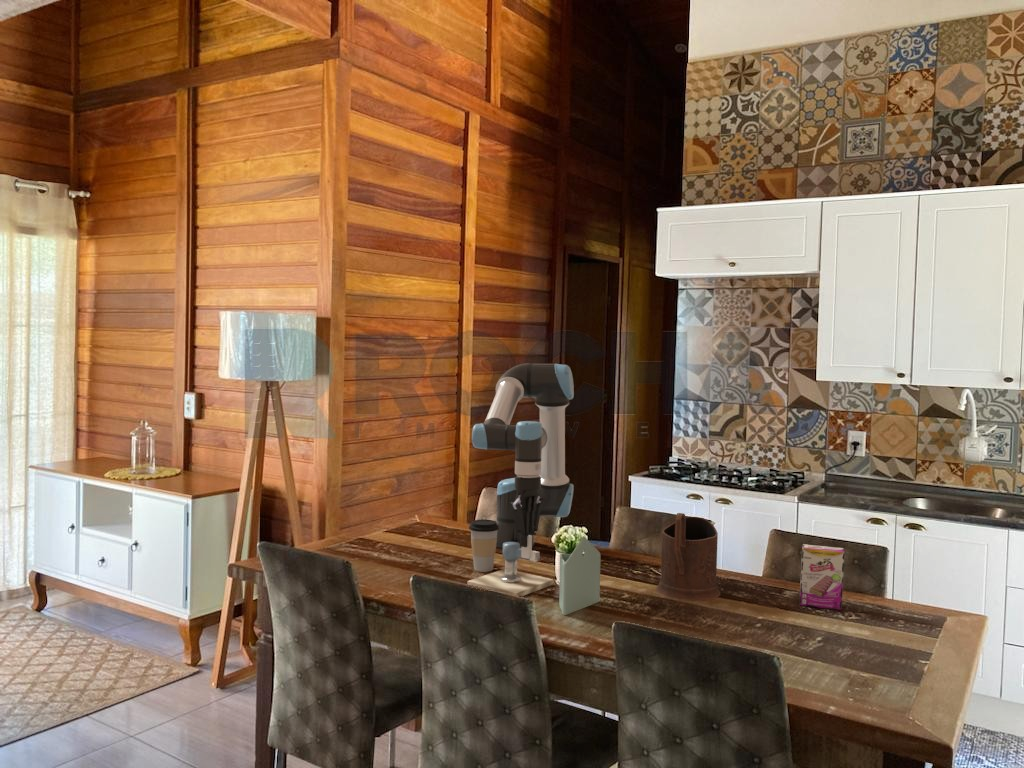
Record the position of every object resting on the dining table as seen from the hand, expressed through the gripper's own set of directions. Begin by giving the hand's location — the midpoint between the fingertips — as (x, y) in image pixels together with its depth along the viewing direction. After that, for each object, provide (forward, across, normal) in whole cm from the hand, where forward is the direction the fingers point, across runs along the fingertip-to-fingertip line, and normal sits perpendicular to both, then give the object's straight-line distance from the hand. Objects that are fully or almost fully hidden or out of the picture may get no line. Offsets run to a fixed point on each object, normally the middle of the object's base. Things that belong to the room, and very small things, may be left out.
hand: (526, 557), depth 247 cm
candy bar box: (+10, +44, -70) cm, 83 cm away
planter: (+10, -2, -17) cm, 20 cm away
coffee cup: (+10, +10, +24) cm, 28 cm away
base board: (+10, +2, +7) cm, 12 cm away
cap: (+2, +2, +3) cm, 4 cm away
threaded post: (+8, +2, +7) cm, 11 cm away
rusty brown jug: (+10, +29, -36) cm, 47 cm away
